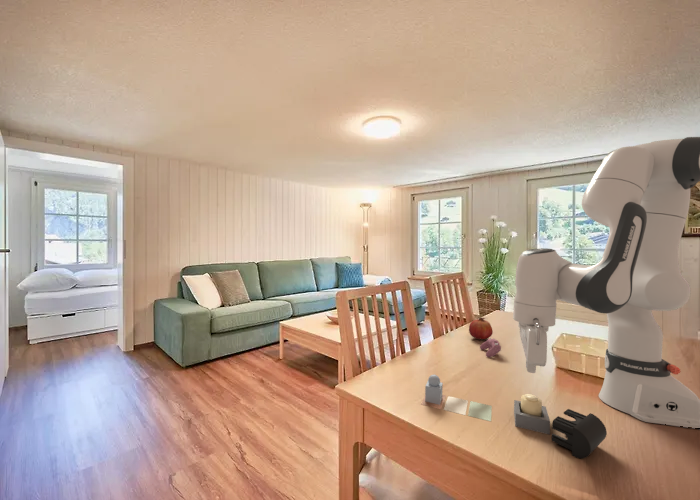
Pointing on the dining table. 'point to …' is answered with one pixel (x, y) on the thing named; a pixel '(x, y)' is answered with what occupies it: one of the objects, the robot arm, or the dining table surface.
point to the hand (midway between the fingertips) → (530, 370)
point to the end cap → (579, 433)
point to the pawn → (433, 390)
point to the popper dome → (531, 405)
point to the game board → (463, 407)
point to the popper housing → (531, 419)
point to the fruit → (480, 329)
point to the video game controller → (491, 347)
